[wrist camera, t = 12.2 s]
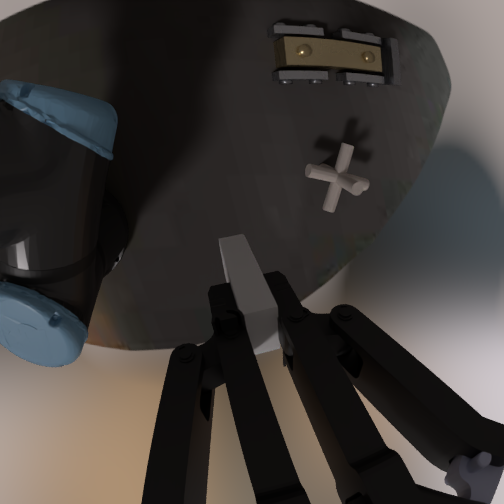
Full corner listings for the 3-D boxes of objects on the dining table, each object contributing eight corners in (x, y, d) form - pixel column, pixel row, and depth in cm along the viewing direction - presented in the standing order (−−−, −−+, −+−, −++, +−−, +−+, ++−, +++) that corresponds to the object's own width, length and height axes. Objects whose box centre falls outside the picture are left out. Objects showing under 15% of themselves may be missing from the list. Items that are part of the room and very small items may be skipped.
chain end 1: (336, 84, 35) (352, 84, 32) (331, 30, 31) (346, 25, 27) (383, 88, 37) (401, 89, 33) (379, 38, 32) (397, 35, 28)
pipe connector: (302, 130, 38) (336, 141, 30) (356, 147, 41) (395, 162, 33) (285, 193, 43) (313, 219, 34) (339, 203, 46) (372, 228, 37)
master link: (275, 68, 33) (288, 64, 29) (272, 42, 31) (285, 35, 26) (365, 72, 35) (384, 71, 31) (363, 49, 33) (382, 47, 29)
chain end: (273, 84, 34) (280, 83, 31) (266, 26, 29) (273, 21, 27) (318, 83, 35) (328, 83, 32) (313, 28, 30) (322, 24, 28)
